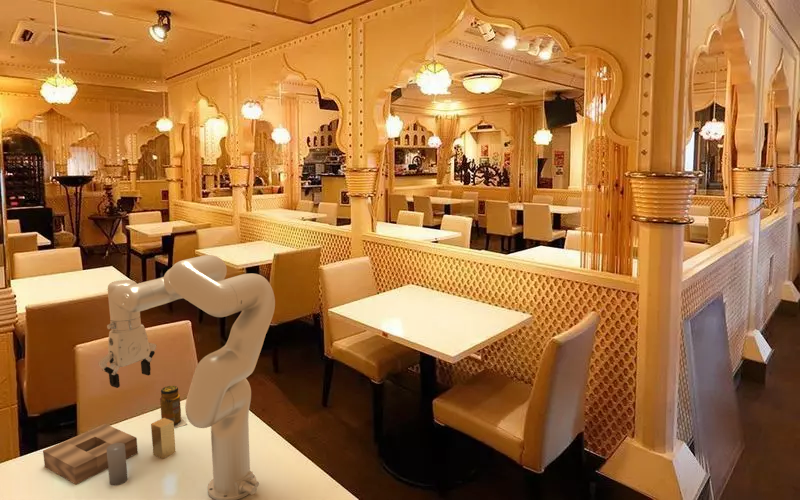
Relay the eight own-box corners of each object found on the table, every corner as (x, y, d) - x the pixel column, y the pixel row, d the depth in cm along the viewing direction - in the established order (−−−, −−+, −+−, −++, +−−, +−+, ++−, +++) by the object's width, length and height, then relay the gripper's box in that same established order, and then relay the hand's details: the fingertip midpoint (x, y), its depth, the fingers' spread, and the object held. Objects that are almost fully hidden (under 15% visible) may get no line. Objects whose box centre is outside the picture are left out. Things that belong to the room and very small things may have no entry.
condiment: (179, 415, 180) (177, 382, 178) (187, 424, 174) (185, 391, 172) (156, 421, 176) (154, 388, 174) (164, 431, 169) (161, 397, 167)
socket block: (137, 452, 157) (136, 437, 156) (76, 484, 141) (74, 467, 140) (106, 438, 165) (105, 423, 164) (44, 466, 149) (42, 450, 148)
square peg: (175, 452, 158) (173, 421, 156) (162, 459, 154) (160, 427, 152) (166, 447, 160) (164, 417, 158) (153, 454, 156) (150, 423, 154)
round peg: (131, 478, 144) (128, 445, 142) (115, 487, 140) (112, 453, 139) (121, 473, 146) (118, 441, 145) (106, 482, 143) (103, 448, 141)
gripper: (104, 334, 139) (110, 394, 142) (161, 317, 154) (165, 372, 157) (87, 330, 142) (94, 389, 145) (144, 314, 157) (149, 367, 160)
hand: (131, 380), depth 151 cm, fingers open, 9 cm apart
